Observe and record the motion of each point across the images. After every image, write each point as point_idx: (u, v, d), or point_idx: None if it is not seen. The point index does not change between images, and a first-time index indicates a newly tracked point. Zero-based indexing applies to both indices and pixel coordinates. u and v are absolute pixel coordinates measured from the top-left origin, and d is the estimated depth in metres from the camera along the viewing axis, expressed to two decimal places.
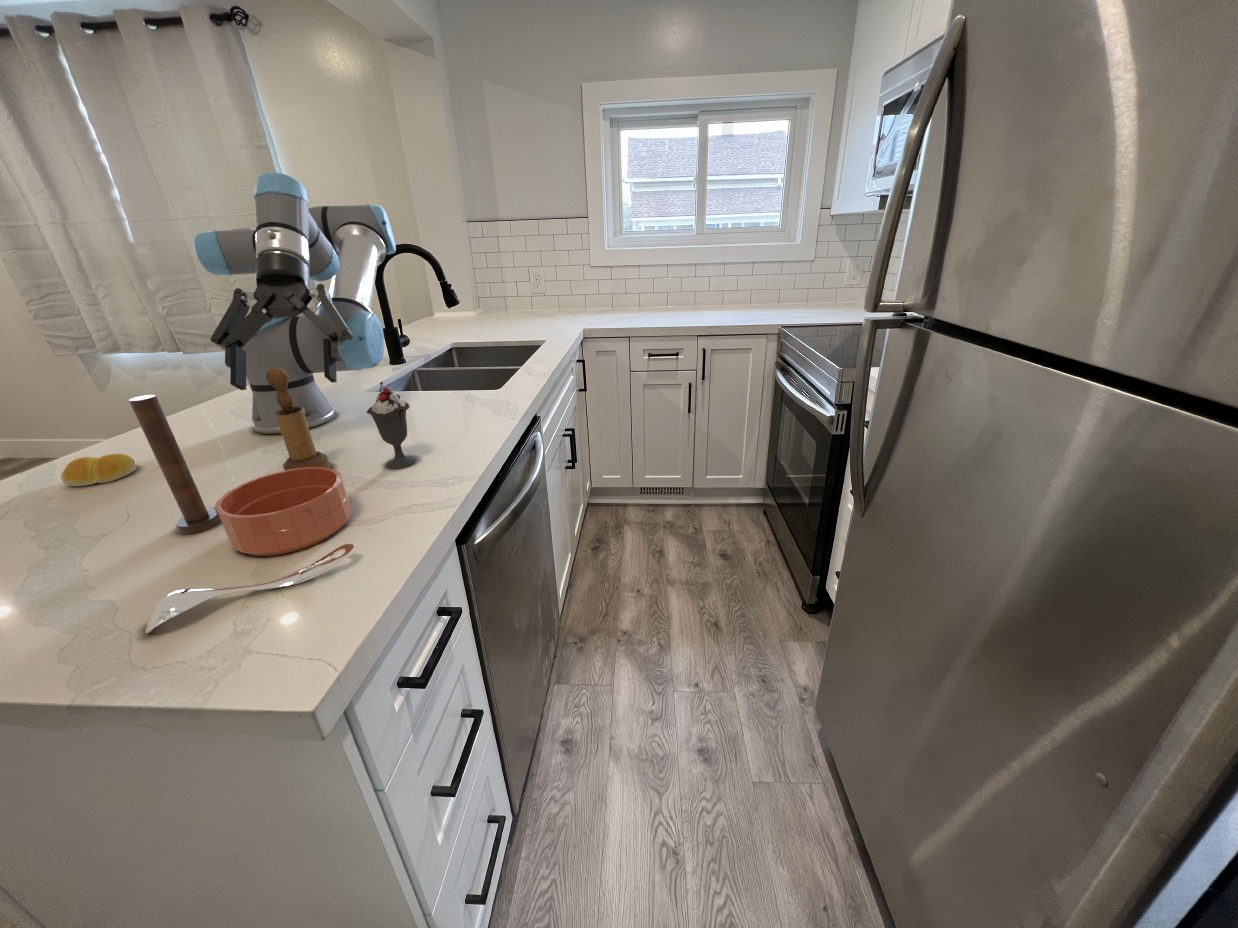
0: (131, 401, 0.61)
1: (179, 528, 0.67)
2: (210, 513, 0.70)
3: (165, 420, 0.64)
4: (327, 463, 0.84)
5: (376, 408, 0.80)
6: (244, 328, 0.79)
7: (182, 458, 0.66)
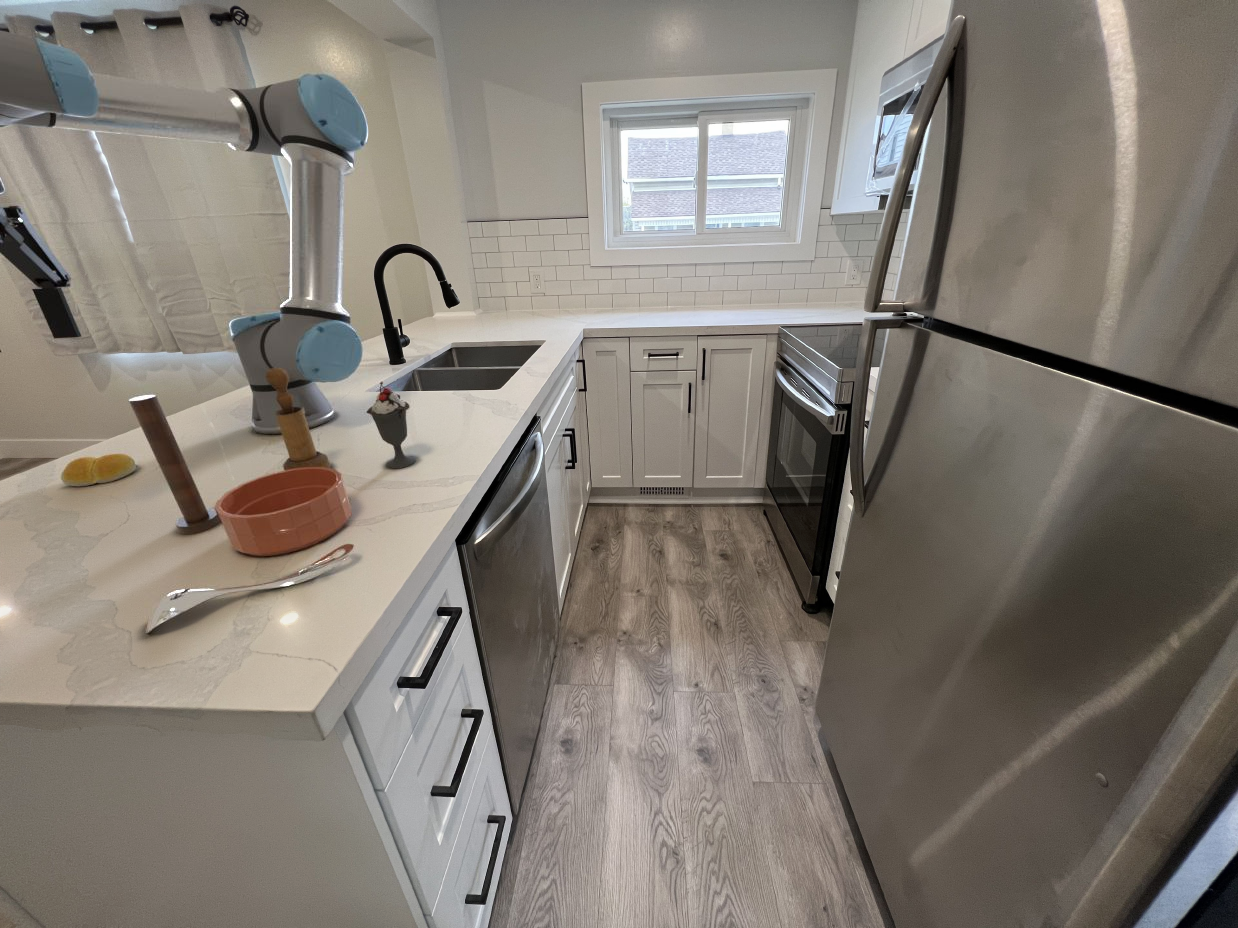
0: (131, 401, 0.61)
1: (179, 528, 0.67)
2: (210, 513, 0.70)
3: (165, 420, 0.64)
4: (327, 463, 0.84)
5: (376, 408, 0.80)
6: (16, 266, 0.64)
7: (182, 458, 0.66)
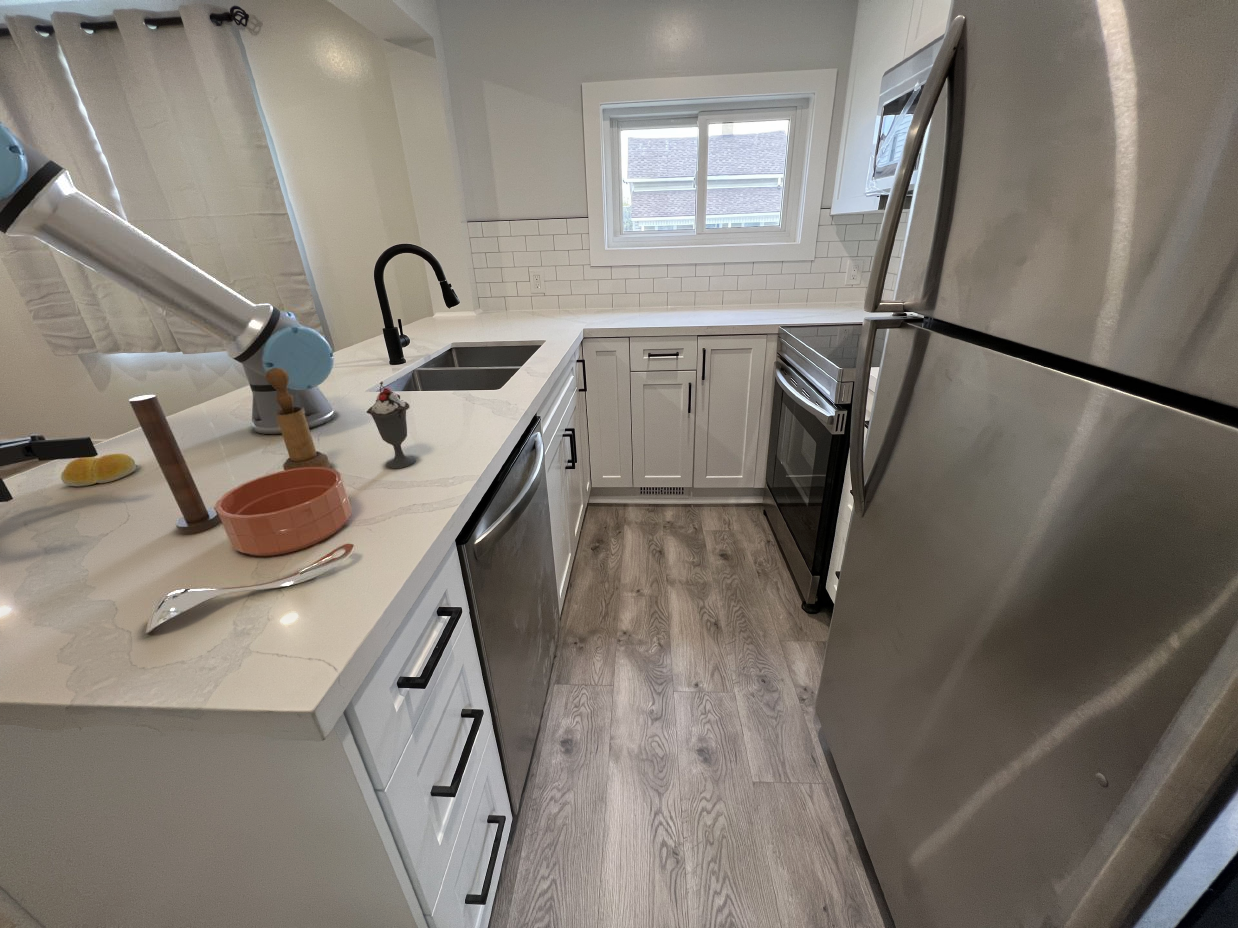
0: (131, 401, 0.61)
1: (179, 528, 0.67)
2: (210, 513, 0.70)
3: (165, 420, 0.64)
4: (327, 463, 0.84)
5: (376, 408, 0.80)
6: (6, 464, 0.67)
7: (182, 458, 0.66)
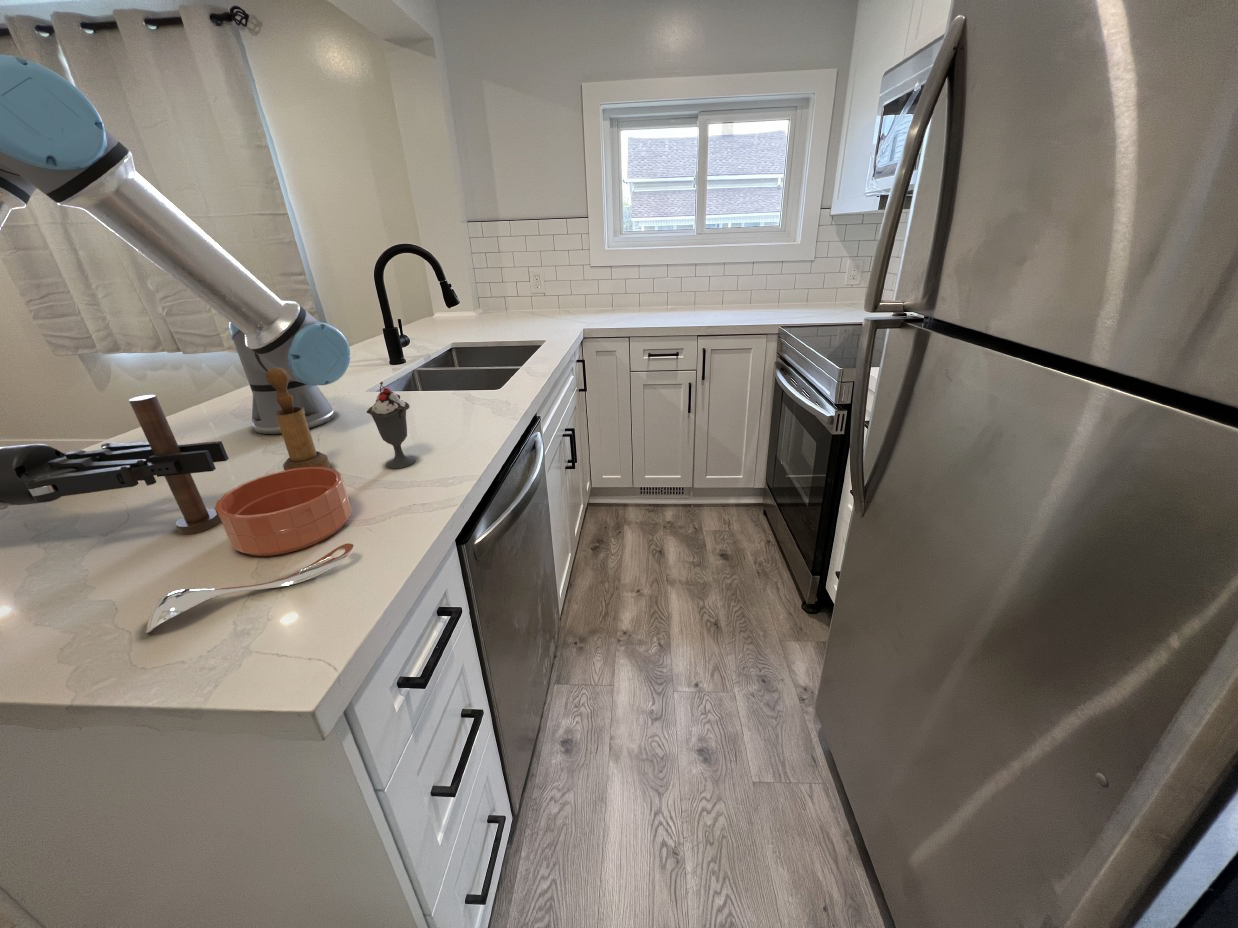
0: (131, 401, 0.61)
1: (179, 528, 0.67)
2: (210, 513, 0.70)
3: (165, 420, 0.64)
4: (327, 463, 0.84)
5: (376, 408, 0.80)
6: None
7: None
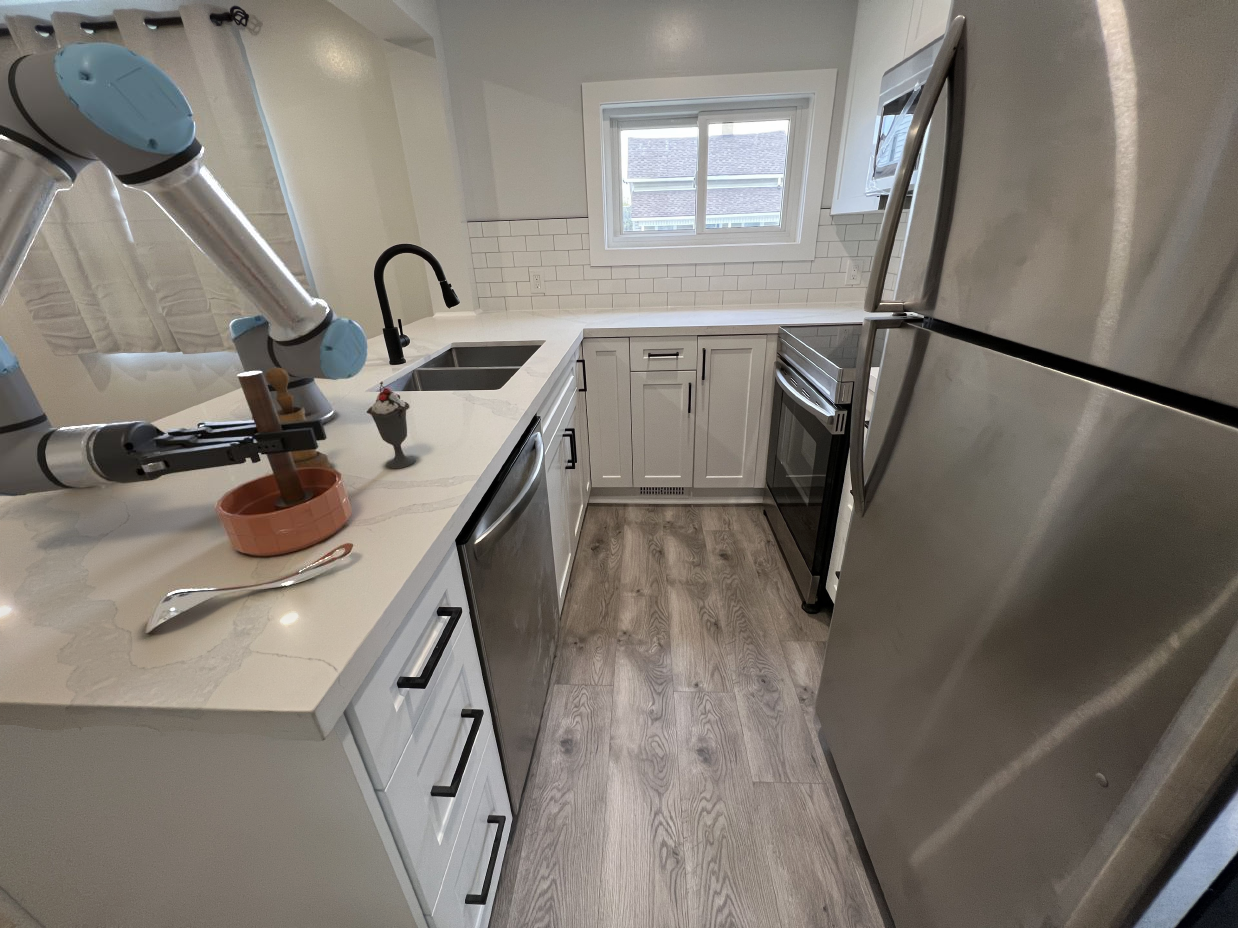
0: (240, 376, 0.60)
1: (279, 508, 0.66)
2: (306, 493, 0.69)
3: (270, 397, 0.63)
4: (327, 463, 0.84)
5: (376, 408, 0.80)
6: None
7: None
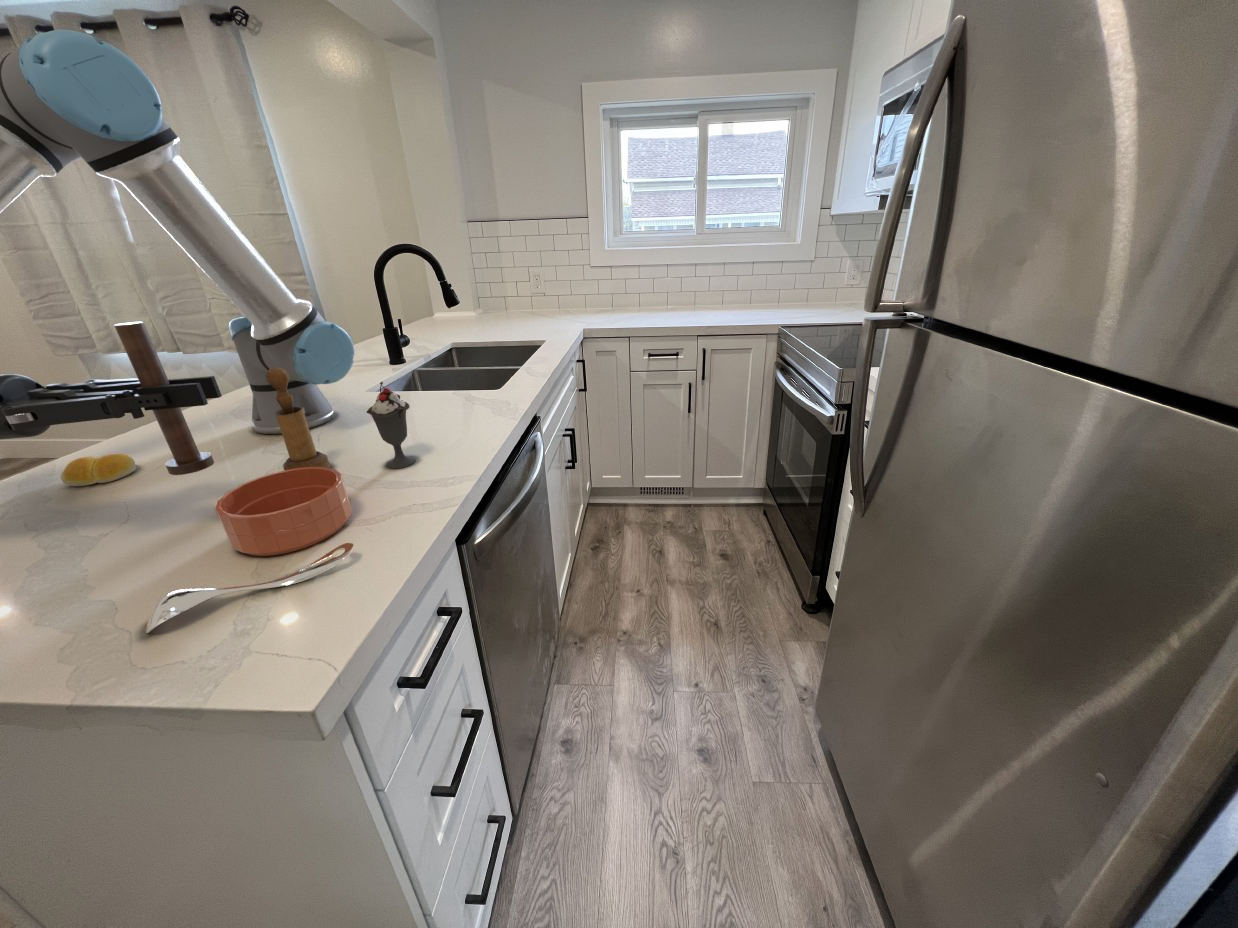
0: (117, 326, 0.57)
1: (169, 468, 0.63)
2: (202, 455, 0.66)
3: (153, 349, 0.60)
4: (327, 463, 0.84)
5: (376, 408, 0.80)
6: None
7: None
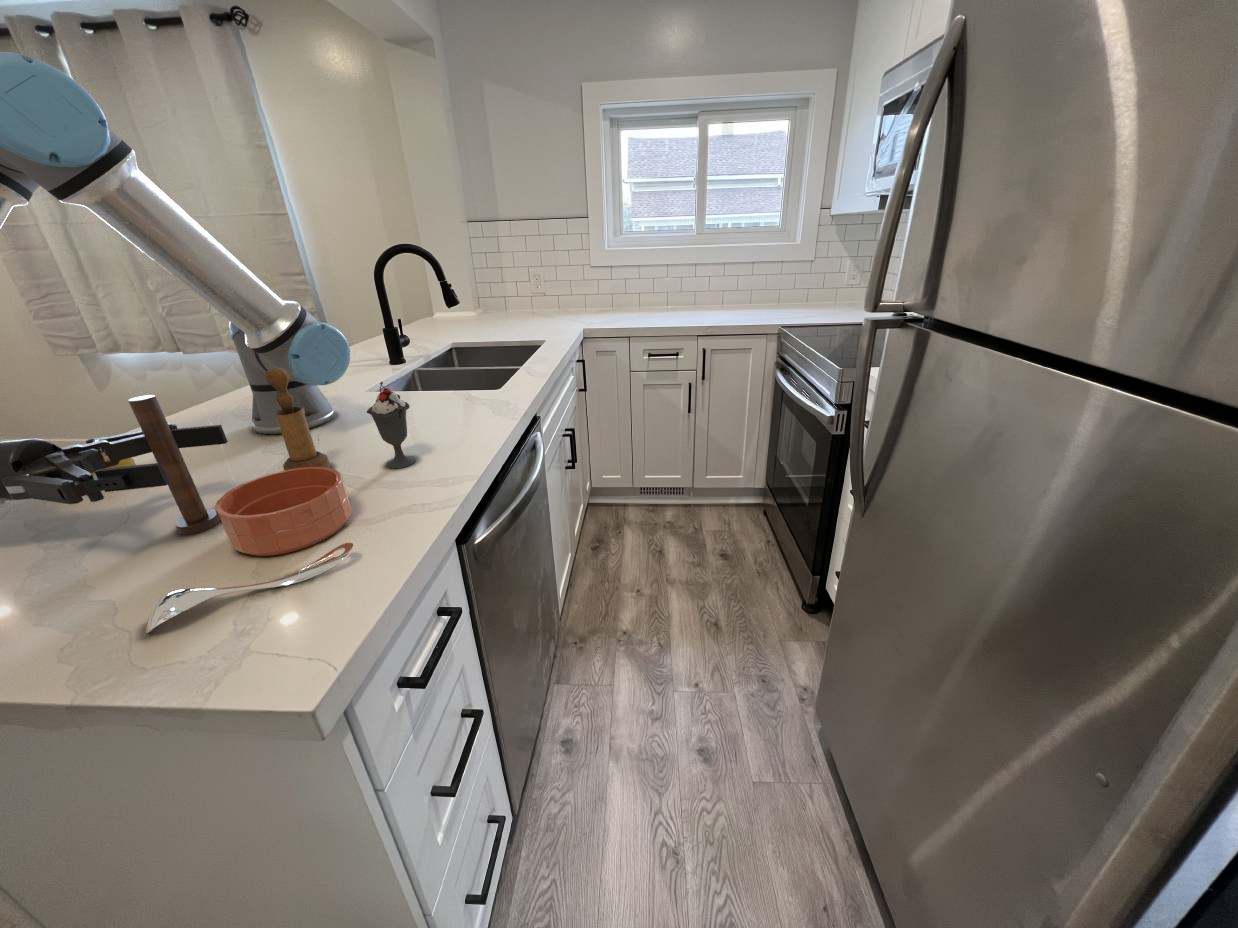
0: (130, 401, 0.61)
1: (178, 528, 0.67)
2: (209, 513, 0.70)
3: (164, 420, 0.64)
4: (327, 463, 0.84)
5: (376, 408, 0.80)
6: (147, 452, 0.70)
7: (181, 458, 0.66)
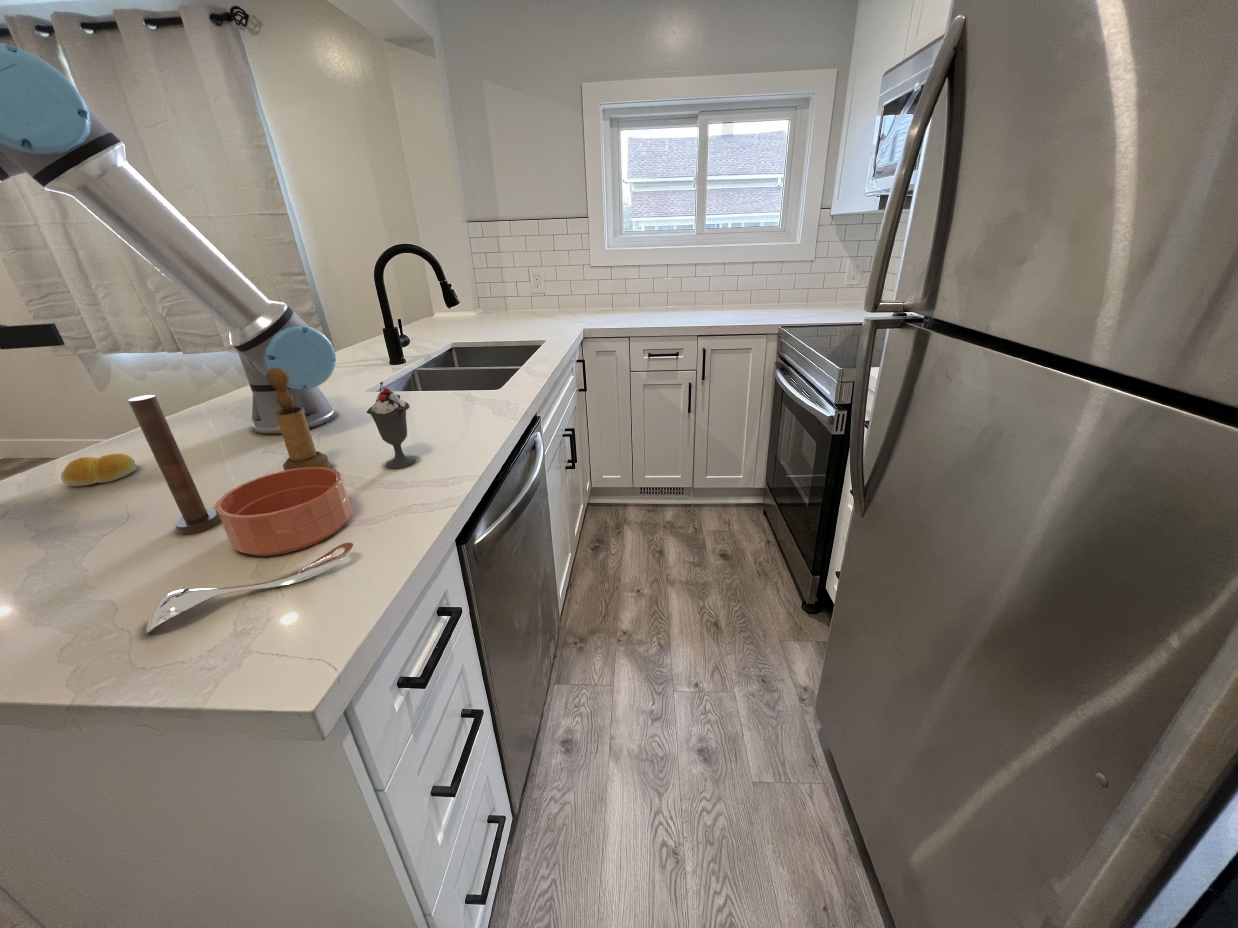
0: (130, 401, 0.61)
1: (178, 528, 0.67)
2: (209, 513, 0.70)
3: (164, 420, 0.64)
4: (327, 463, 0.84)
5: (376, 408, 0.80)
6: None
7: (181, 458, 0.66)
